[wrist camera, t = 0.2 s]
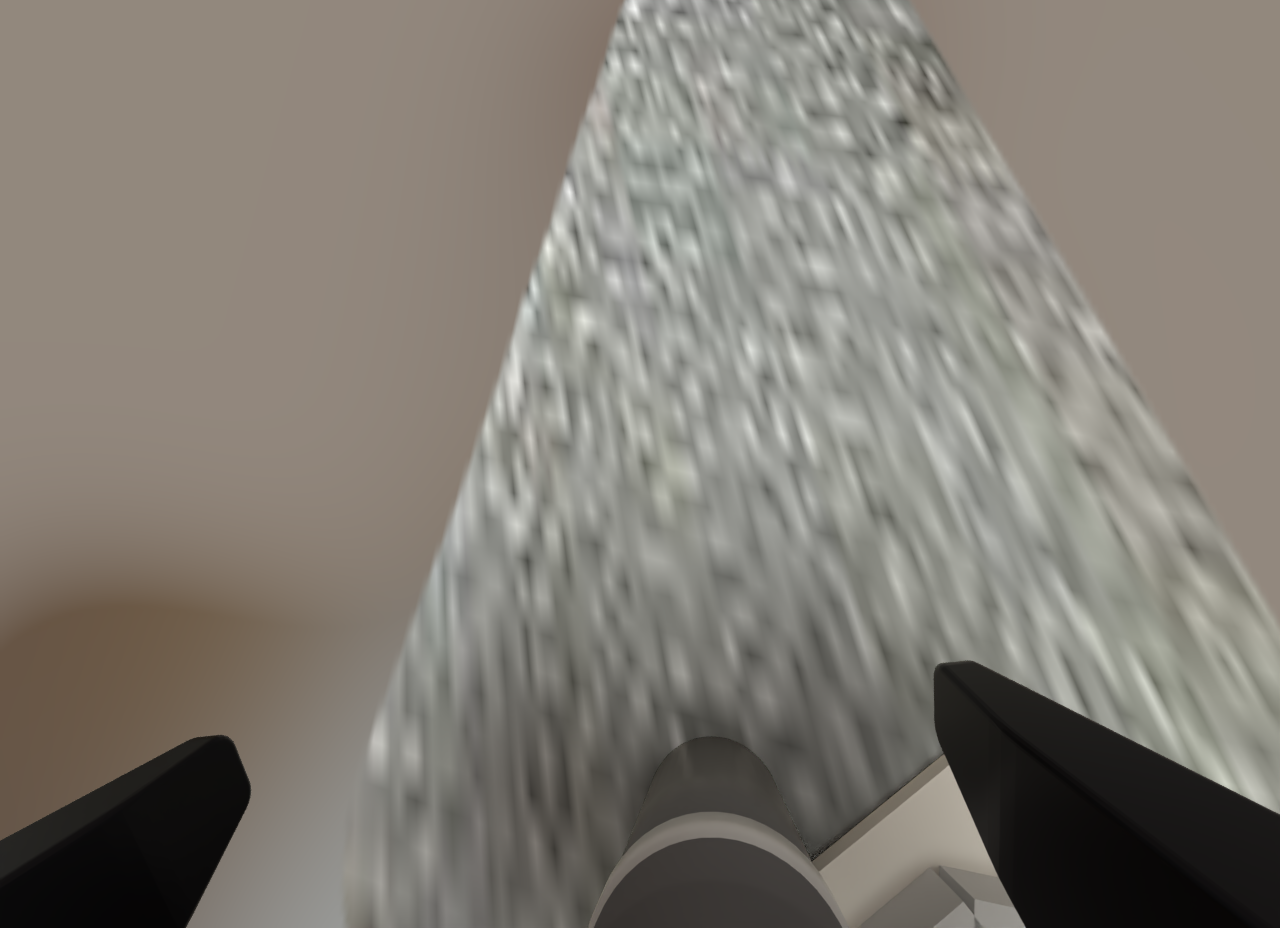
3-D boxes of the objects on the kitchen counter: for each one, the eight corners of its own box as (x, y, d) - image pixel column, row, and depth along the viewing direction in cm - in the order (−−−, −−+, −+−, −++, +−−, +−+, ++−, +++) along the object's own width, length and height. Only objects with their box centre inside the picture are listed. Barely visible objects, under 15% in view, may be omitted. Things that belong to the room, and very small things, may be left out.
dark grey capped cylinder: (814, 830, 20) (995, 1155, 7) (701, 922, 19) (688, 1433, 7) (726, 705, 21) (751, 799, 9) (618, 788, 21) (483, 1013, 8)
